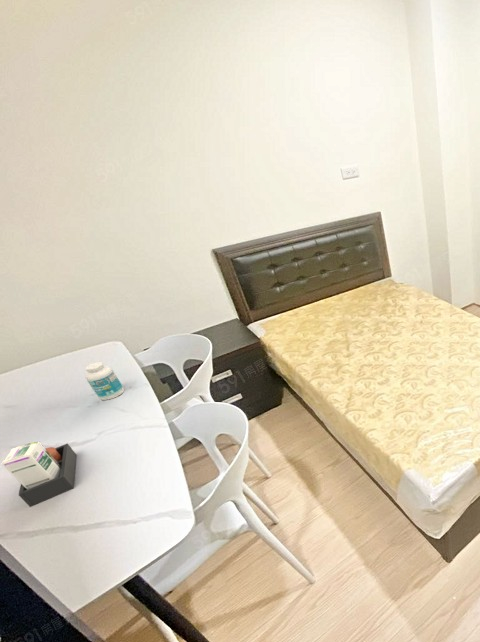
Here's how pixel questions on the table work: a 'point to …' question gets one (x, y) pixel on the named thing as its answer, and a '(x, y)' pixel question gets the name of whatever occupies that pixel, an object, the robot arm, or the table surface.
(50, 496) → the holder
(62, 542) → the table surface
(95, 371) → the pill bottle
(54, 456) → the orange faceted barrel
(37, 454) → the syrup box
